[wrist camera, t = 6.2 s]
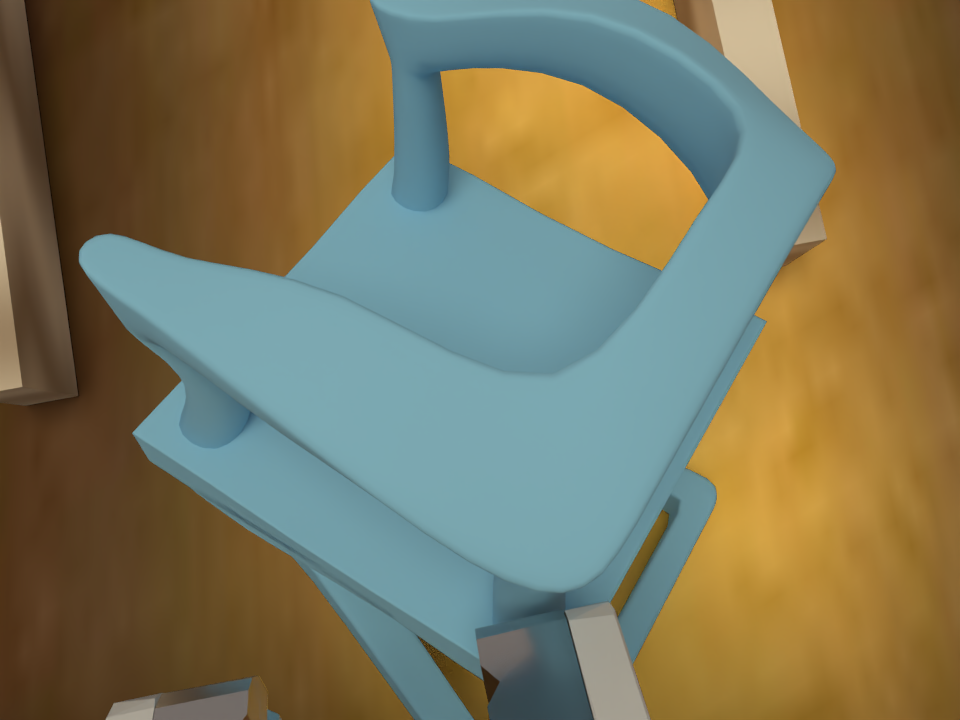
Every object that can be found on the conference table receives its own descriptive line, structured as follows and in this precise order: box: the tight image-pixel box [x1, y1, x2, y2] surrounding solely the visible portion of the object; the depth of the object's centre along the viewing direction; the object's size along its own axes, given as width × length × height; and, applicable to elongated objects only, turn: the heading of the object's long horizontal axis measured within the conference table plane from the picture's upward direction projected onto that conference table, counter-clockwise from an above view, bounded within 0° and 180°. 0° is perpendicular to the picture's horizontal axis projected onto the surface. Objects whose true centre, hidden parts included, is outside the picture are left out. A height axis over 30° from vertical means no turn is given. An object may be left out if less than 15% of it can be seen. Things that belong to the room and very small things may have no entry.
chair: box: [79, 0, 836, 720], centre depth 14 cm, size 8×8×12 cm
